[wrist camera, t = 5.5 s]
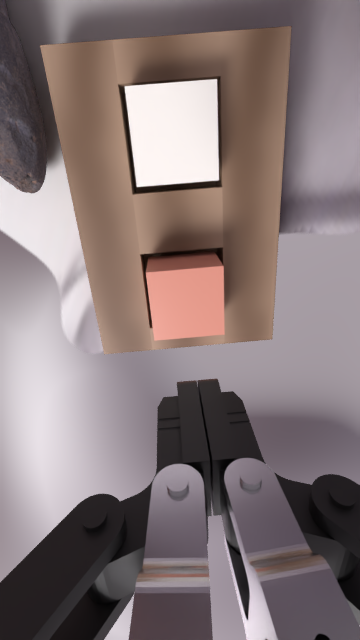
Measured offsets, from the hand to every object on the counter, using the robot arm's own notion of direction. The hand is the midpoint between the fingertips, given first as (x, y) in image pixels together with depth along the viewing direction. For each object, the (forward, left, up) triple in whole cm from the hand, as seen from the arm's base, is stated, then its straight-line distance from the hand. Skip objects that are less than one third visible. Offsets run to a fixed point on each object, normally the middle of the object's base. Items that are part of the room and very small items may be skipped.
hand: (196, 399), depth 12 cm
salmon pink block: (0, 0, -14) cm, 14 cm away
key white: (0, -10, -15) cm, 18 cm away
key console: (0, -5, -17) cm, 18 cm away
